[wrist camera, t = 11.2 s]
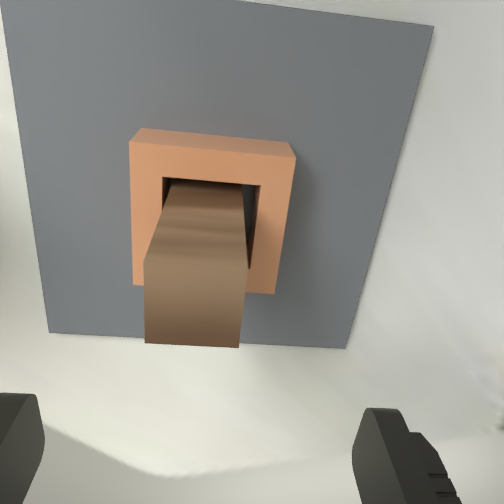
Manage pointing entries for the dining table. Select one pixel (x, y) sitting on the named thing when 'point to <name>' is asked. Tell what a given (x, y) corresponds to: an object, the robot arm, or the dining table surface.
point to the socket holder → (209, 148)
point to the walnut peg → (197, 266)
